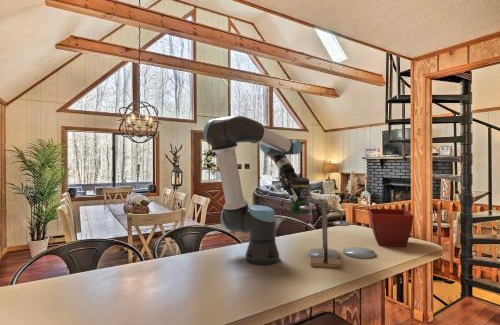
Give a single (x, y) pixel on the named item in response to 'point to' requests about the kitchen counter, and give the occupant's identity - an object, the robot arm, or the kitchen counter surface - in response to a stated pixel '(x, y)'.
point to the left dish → (319, 253)
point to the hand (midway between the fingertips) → (303, 199)
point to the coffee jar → (299, 195)
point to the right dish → (358, 252)
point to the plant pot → (391, 226)
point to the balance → (325, 235)
